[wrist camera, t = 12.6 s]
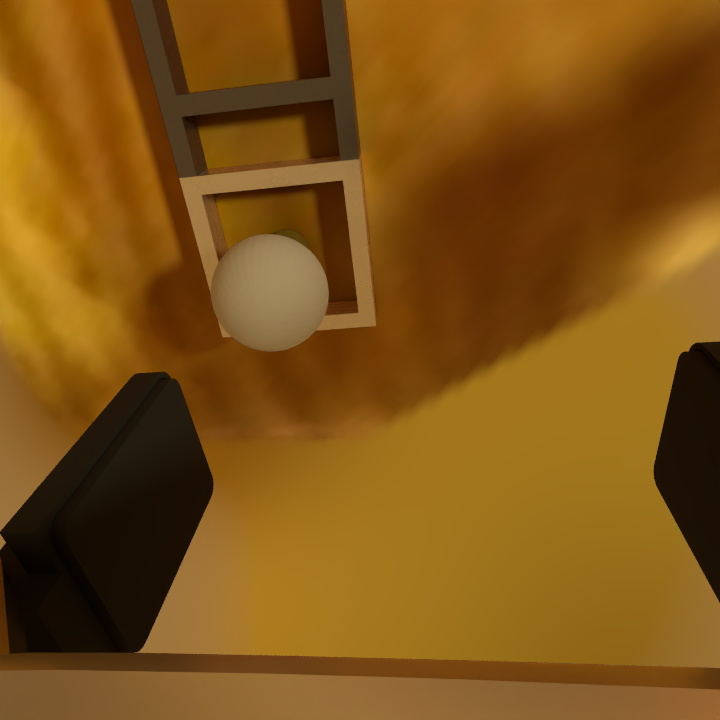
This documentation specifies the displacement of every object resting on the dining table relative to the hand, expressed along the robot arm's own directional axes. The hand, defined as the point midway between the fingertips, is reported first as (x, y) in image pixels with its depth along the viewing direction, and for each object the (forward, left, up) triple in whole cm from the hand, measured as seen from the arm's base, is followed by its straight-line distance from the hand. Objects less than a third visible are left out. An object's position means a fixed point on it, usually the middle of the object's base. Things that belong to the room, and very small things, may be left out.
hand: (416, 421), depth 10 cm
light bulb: (+7, +3, -23) cm, 25 cm away
